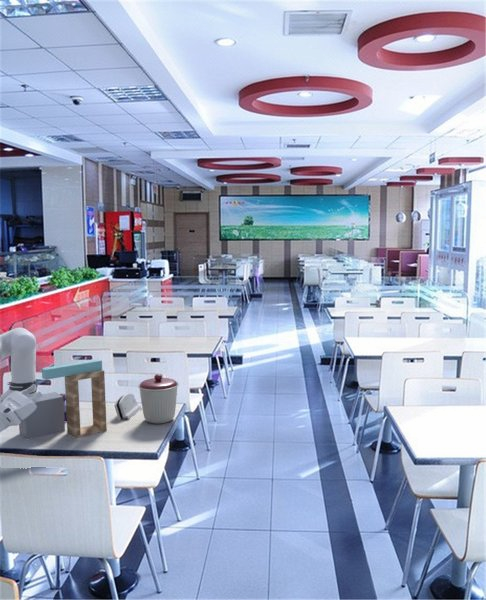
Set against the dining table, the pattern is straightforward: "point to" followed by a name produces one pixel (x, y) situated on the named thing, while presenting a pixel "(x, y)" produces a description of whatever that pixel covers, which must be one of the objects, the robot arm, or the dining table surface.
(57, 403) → the low step
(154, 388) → the canister
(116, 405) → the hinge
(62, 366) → the teal bar
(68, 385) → the stand
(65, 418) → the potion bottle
